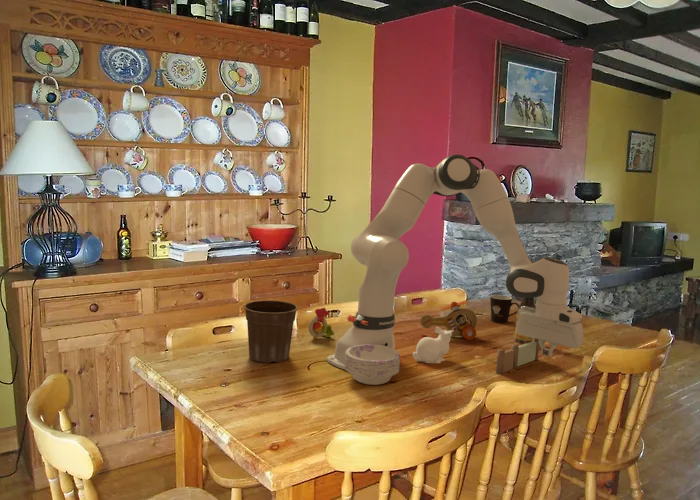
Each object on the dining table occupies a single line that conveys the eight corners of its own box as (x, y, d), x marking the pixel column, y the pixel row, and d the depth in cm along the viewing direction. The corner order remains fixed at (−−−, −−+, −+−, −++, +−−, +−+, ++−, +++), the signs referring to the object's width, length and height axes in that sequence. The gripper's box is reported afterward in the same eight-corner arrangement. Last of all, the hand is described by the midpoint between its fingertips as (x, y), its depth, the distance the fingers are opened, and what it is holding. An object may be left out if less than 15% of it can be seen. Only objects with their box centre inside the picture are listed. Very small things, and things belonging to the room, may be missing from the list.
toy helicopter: (478, 340, 201) (481, 302, 199) (422, 340, 198) (424, 302, 197) (471, 334, 209) (473, 297, 207) (416, 333, 206) (418, 297, 205)
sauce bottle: (510, 341, 202) (514, 286, 199) (524, 339, 204) (529, 285, 202) (522, 346, 196) (526, 290, 193) (536, 345, 198) (541, 289, 196)
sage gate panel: (518, 367, 172) (520, 344, 171) (512, 365, 173) (514, 343, 172) (539, 359, 180) (540, 338, 179) (533, 357, 182) (535, 336, 181)
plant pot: (303, 352, 180) (305, 303, 177) (284, 369, 164) (286, 314, 162) (256, 346, 184) (257, 298, 182) (233, 361, 168) (234, 309, 166)
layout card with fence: (508, 379, 163) (510, 354, 162) (457, 362, 176) (459, 339, 175) (548, 363, 178) (550, 341, 177) (498, 349, 191) (500, 328, 190)
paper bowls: (366, 364, 169) (367, 339, 168) (409, 379, 160) (410, 352, 158) (332, 378, 157) (334, 351, 156) (376, 394, 148) (378, 366, 147)
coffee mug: (484, 319, 232) (485, 295, 230) (500, 318, 235) (502, 294, 234) (502, 326, 221) (504, 301, 220) (520, 325, 225) (522, 300, 224)
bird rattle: (320, 347, 193) (340, 333, 198) (310, 319, 189) (330, 306, 194) (310, 342, 198) (329, 329, 202) (300, 315, 194) (320, 302, 198)
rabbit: (444, 356, 181) (446, 320, 180) (456, 366, 172) (459, 328, 171) (408, 358, 178) (410, 321, 177) (419, 368, 169) (421, 329, 168)
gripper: (514, 305, 178) (511, 348, 179) (578, 319, 163) (573, 365, 165) (524, 303, 182) (521, 344, 184) (587, 316, 167) (583, 361, 169)
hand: (546, 355), depth 174 cm, fingers closed
